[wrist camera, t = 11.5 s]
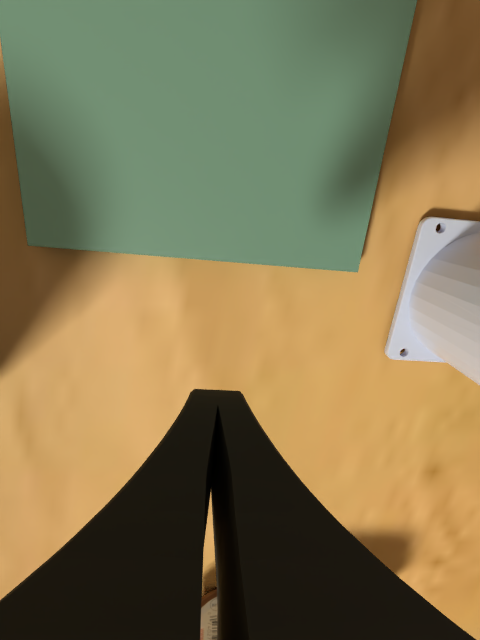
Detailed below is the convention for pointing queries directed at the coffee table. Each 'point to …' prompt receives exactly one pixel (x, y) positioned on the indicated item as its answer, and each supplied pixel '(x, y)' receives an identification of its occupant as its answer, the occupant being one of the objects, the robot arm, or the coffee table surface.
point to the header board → (203, 124)
